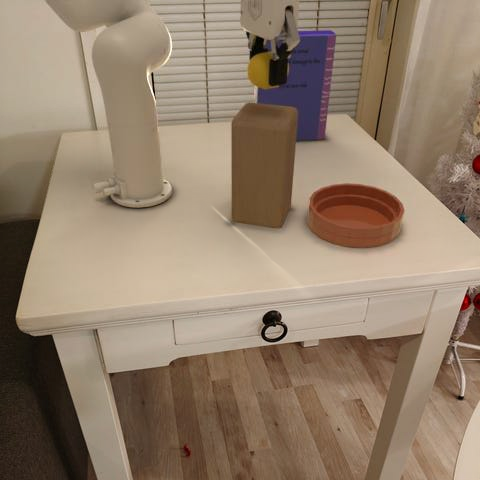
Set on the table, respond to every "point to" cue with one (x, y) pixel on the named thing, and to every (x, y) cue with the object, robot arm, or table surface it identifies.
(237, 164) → the wooden block
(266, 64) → the lemon
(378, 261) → the table surface
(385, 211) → the fruit bowl
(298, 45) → the purple book
